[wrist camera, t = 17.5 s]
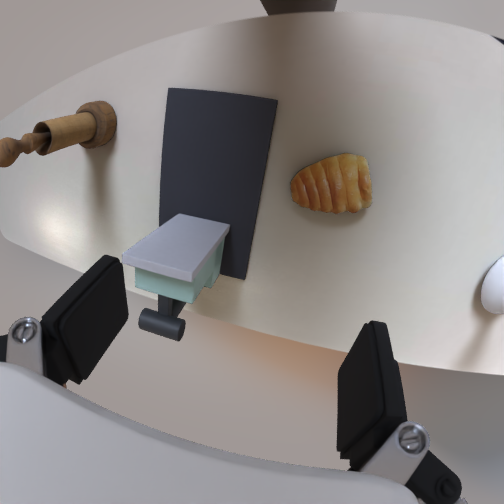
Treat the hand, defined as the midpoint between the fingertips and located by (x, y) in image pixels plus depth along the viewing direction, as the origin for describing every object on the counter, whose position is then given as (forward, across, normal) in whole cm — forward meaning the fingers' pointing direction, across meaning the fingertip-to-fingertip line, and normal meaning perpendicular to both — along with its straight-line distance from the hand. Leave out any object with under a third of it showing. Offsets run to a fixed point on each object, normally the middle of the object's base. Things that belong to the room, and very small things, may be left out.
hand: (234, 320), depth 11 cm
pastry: (+26, -6, +1) cm, 27 cm away
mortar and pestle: (+26, +26, -2) cm, 37 cm away
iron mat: (+26, +9, +5) cm, 28 cm away
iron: (+19, +9, +8) cm, 22 cm away
